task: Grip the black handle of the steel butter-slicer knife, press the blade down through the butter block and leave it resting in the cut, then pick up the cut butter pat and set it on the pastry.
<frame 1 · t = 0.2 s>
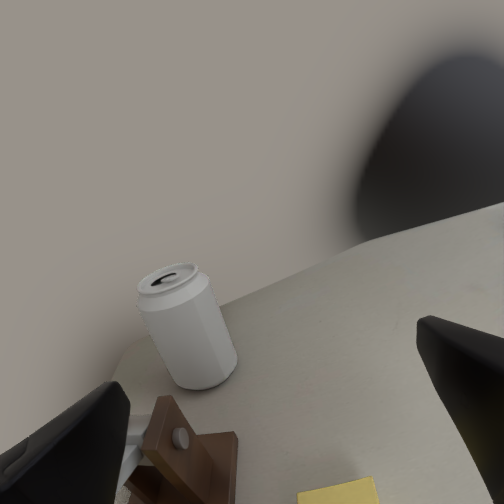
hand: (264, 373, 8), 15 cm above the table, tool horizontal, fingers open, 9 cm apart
slicer: (185, 489, 18), on the table
can: (207, 373, 33), on the table
blade: (100, 490, 11), point 9 cm above the table, hinge at 20.0°
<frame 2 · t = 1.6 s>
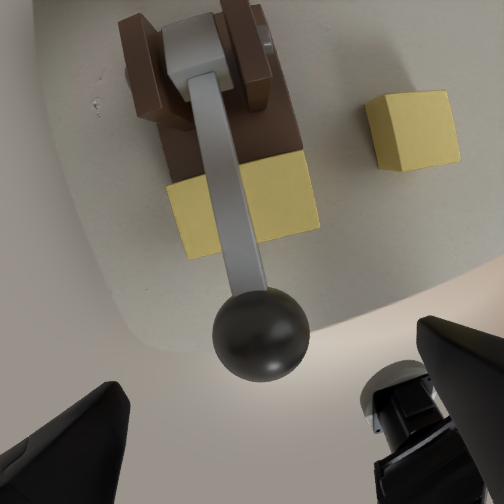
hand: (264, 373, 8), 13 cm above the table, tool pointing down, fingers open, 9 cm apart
slicer: (218, 90, 18), on the table
butter: (246, 195, 20), on the table
butter pat: (400, 131, 18), on the table
blade: (224, 177, 11), point 9 cm above the table, hinge at 20.0°
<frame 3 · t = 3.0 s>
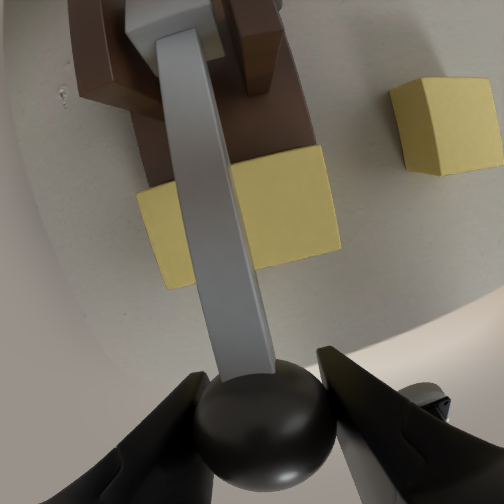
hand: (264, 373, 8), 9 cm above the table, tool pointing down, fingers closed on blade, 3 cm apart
slicer: (207, 70, 14), on the table
butter: (242, 202, 16), on the table
butter pat: (430, 126, 14), on the table
blade: (207, 186, 7), point 9 cm above the table, hinge at 20.0°, touching gripper
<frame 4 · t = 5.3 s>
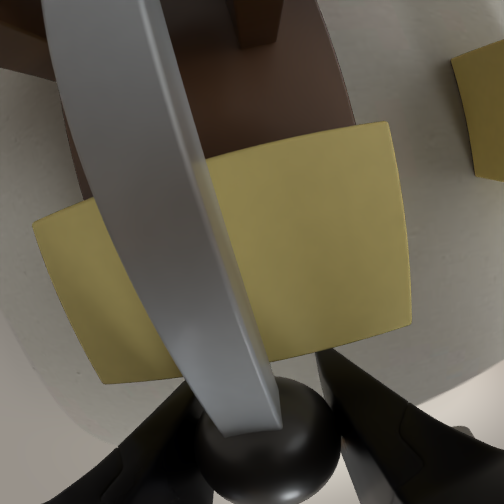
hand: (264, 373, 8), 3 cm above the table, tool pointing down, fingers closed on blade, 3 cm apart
slicer: (179, 19, 8), on the table
butter: (233, 224, 10), on the table
butter pat: (502, 115, 8), on the table
blade: (165, 212, 4), point 6 cm above the table, hinge at -10.3°, touching gripper
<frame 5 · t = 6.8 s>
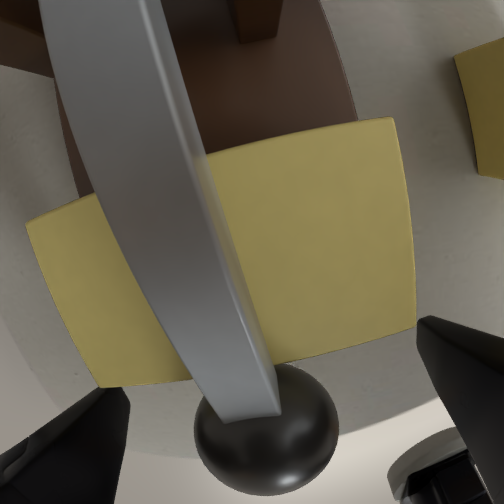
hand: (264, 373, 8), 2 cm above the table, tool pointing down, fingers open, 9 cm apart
slicer: (177, 14, 7), on the table
butter: (233, 223, 9), on the table
blade: (165, 202, 4), point 6 cm above the table, hinge at -13.1°, touching butter
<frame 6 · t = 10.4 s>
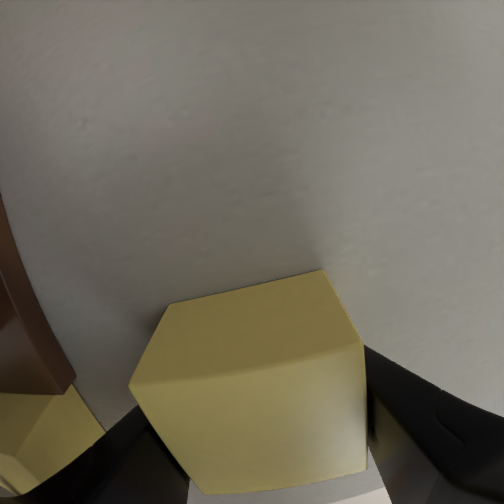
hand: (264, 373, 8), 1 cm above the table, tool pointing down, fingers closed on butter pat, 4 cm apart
butter: (39, 411, 11), on the table
butter pat: (262, 351, 9), on the table, touching gripper
when the fingers open (4 cm above the table, at t = 16.0 s): butter pat stays where it is, resting on pastry.
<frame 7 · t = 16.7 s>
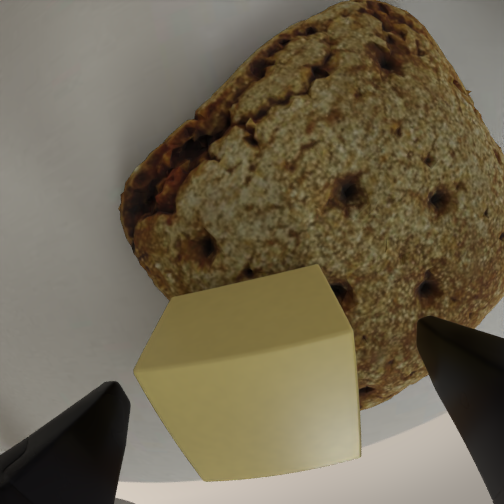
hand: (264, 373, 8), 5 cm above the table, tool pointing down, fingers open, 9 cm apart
butter pat: (260, 343, 10), point 3 cm above the table, touching pastry
pastry: (359, 214, 12), on the table, touching butter pat
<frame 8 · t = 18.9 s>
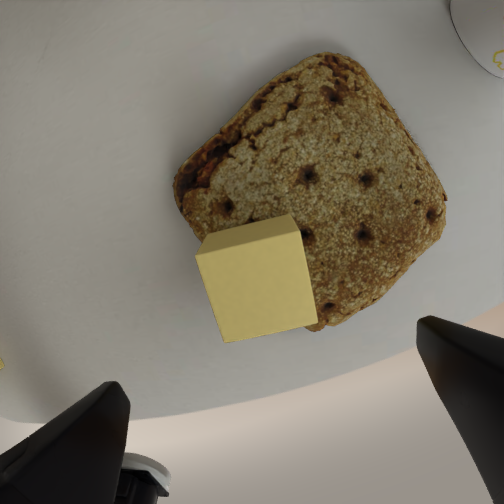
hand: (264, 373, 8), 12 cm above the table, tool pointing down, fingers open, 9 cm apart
butter pat: (258, 263, 17), point 3 cm above the table, touching pastry
cup: (487, 32, 14), on the table
pastry: (321, 191, 19), on the table, touching butter pat
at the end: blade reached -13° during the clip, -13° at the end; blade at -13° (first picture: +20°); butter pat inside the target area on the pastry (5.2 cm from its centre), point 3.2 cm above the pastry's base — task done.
